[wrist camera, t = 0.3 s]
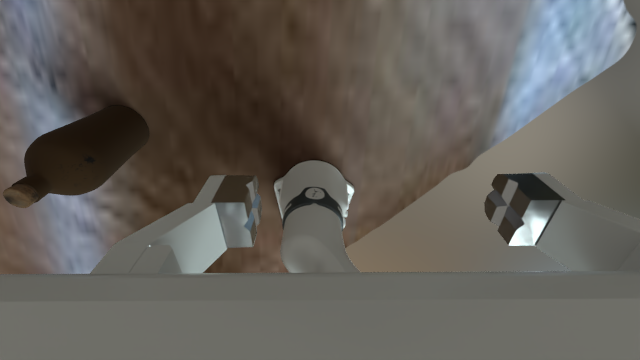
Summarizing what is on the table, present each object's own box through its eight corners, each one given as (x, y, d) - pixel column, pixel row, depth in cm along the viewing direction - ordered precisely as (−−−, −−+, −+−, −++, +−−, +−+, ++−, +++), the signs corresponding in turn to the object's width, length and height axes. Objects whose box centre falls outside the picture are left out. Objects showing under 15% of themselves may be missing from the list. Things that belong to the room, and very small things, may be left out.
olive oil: (109, 90, 54) (-24, 148, 33) (161, 125, 58) (71, 196, 37) (90, 128, 58) (-39, 201, 37) (140, 159, 62) (48, 240, 41)
